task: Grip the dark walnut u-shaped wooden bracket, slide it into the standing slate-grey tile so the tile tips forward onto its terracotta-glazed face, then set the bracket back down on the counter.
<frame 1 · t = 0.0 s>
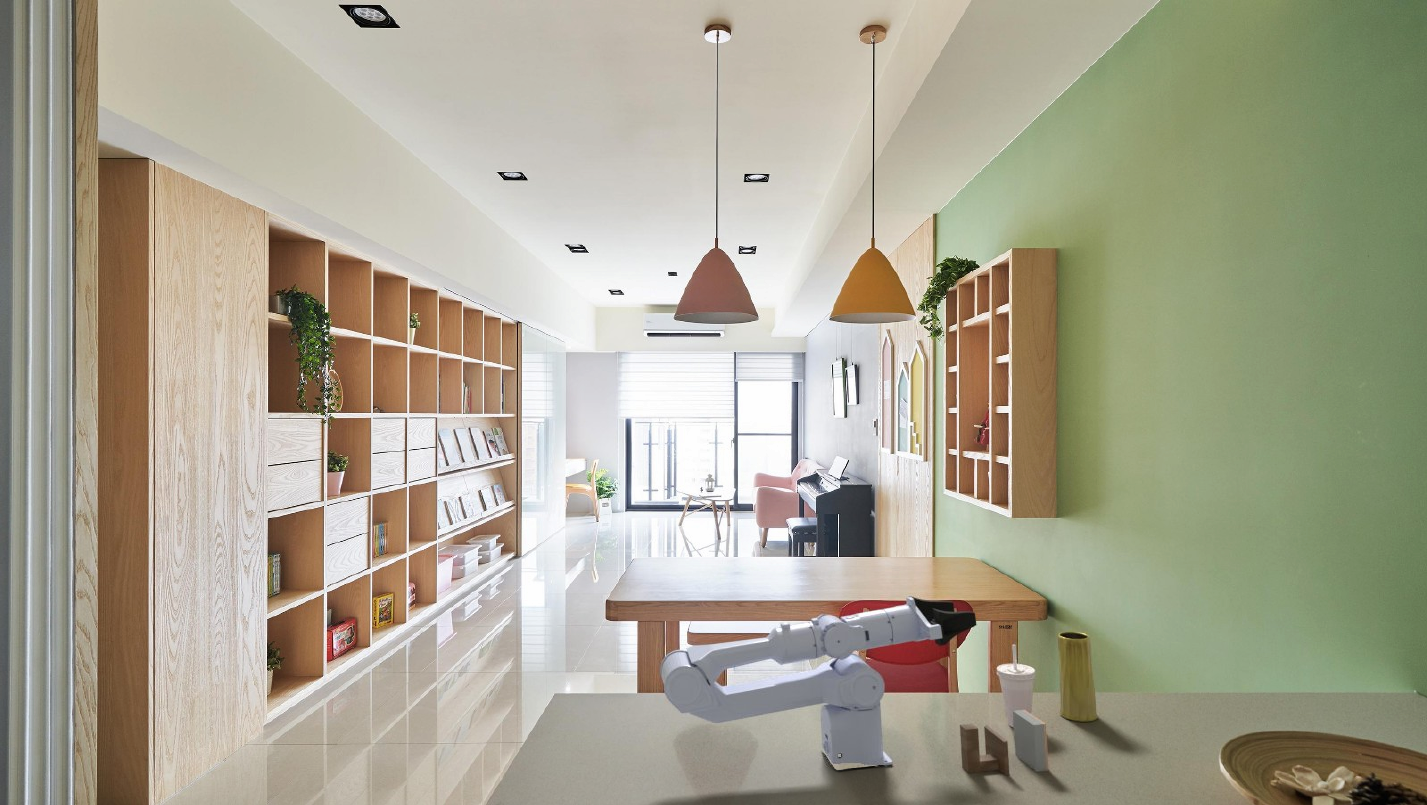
hand: (963, 613, 126), 22 cm above the table, tool horizontal, fingers open, 7 cm apart
vase: (1078, 716, 136), on the table
u-shaped wooden bracket: (971, 769, 117), on the table
smoothie: (1019, 725, 133), on the table
tile: (1031, 762, 119), on the table
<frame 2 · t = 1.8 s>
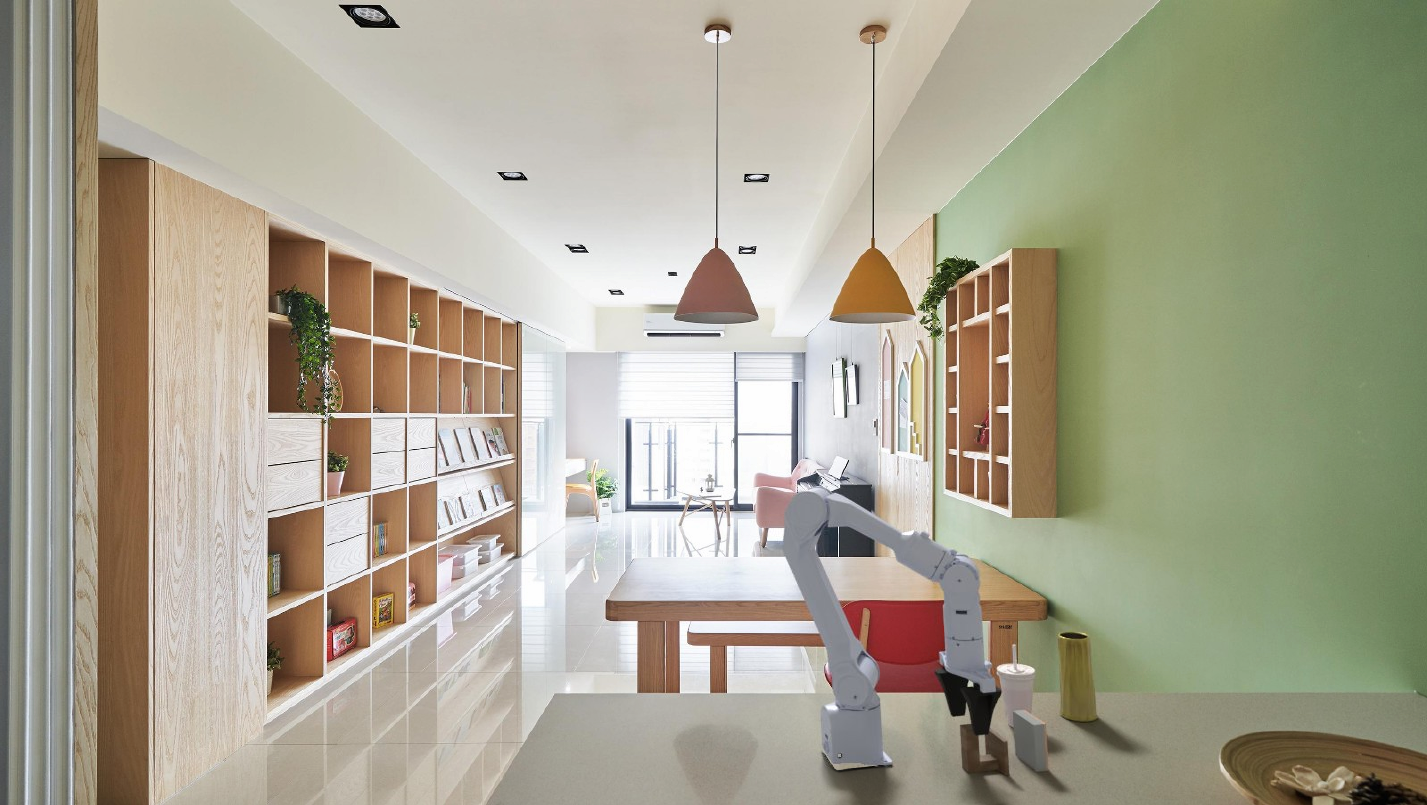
hand: (969, 724, 117), 7 cm above the table, tool pointing down, fingers open, 7 cm apart
nothing on the table moved.
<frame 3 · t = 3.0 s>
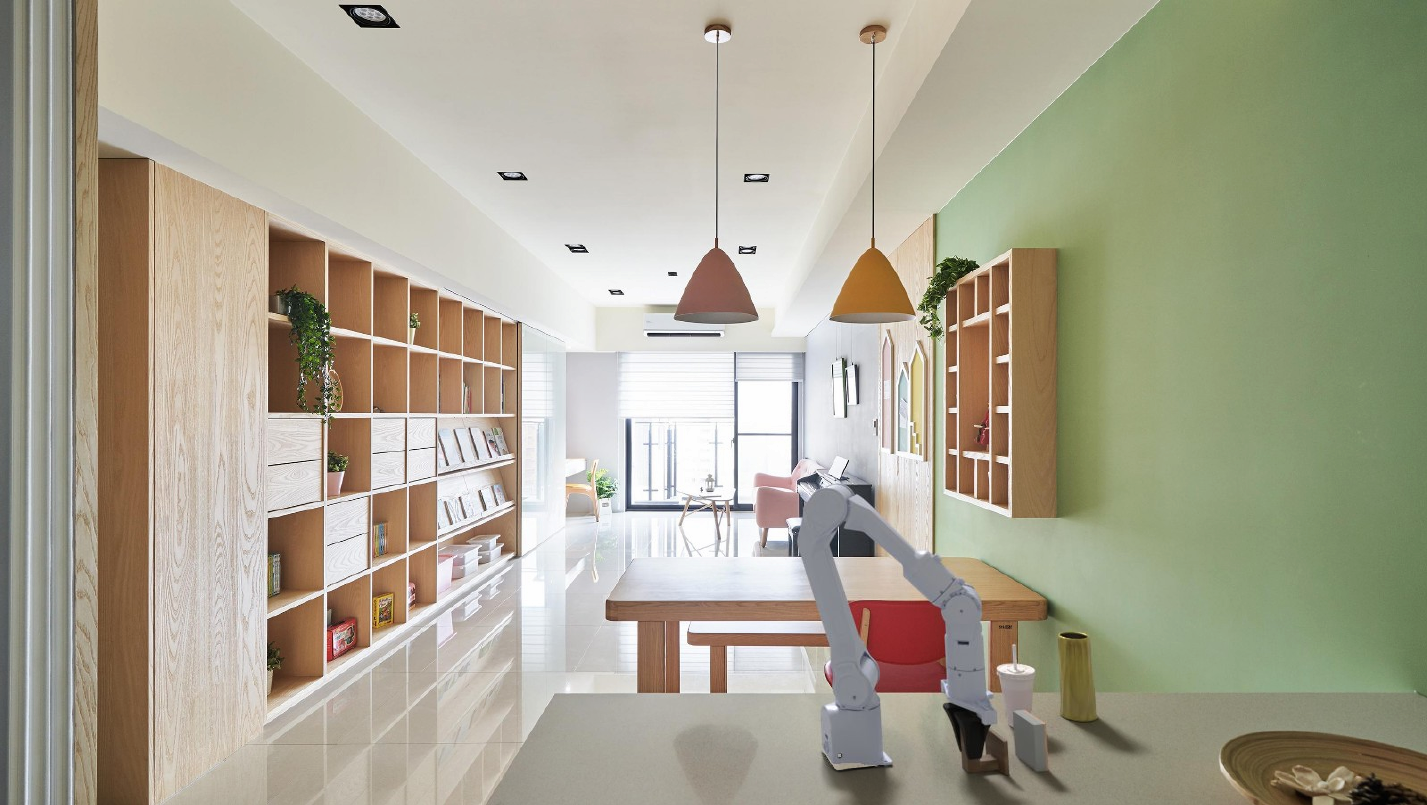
hand: (970, 754, 117), 2 cm above the table, tool pointing down, fingers closed on u-shaped wooden bracket
u-shaped wooden bracket: (971, 769, 117), on the table, touching gripper
everything else where it was.
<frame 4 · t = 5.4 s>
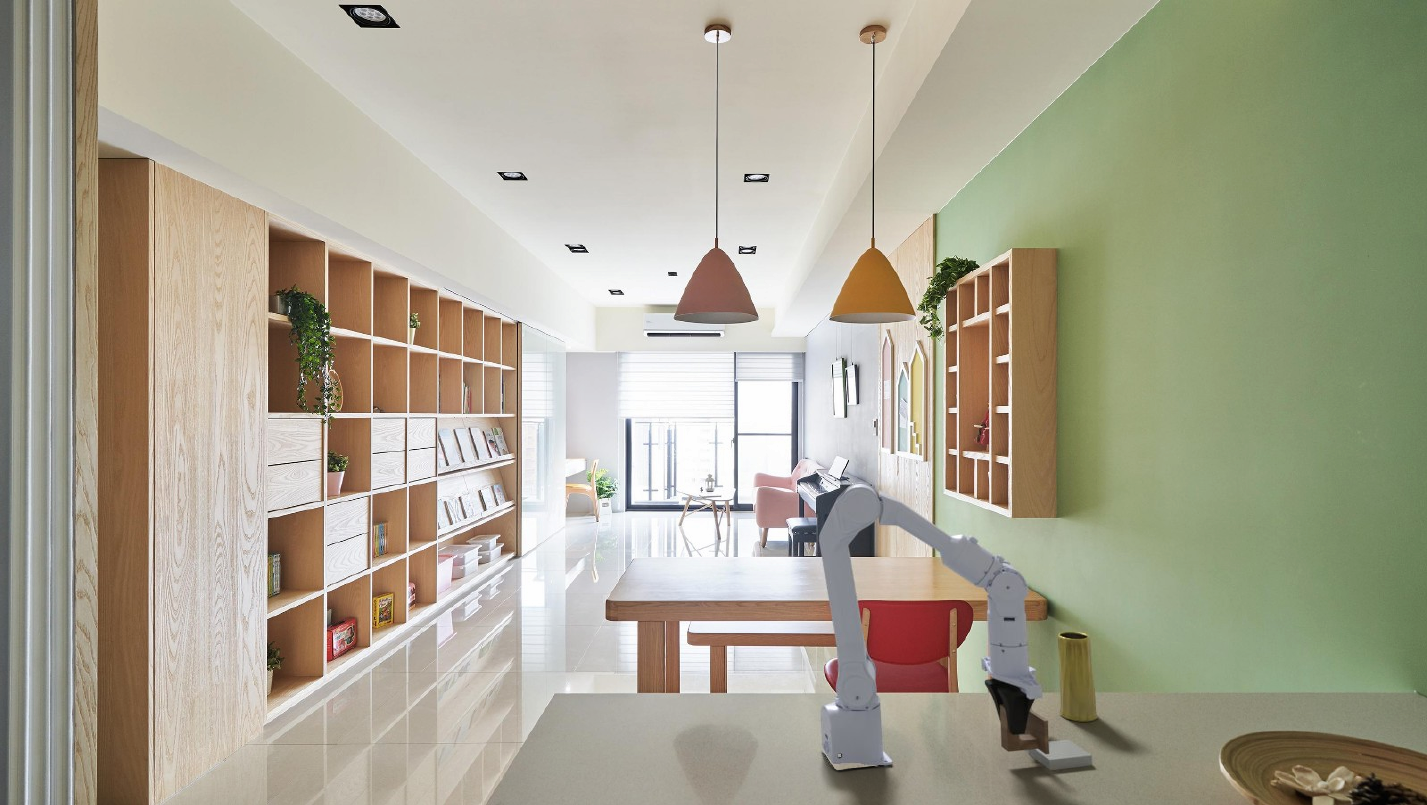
hand: (1013, 730, 118), 5 cm above the table, tool pointing down, fingers closed on u-shaped wooden bracket
u-shaped wooden bracket: (1010, 748, 118), point 2 cm above the table, touching gripper
tile: (1038, 758, 119), on the table, tilted 90°
everything else where it was.
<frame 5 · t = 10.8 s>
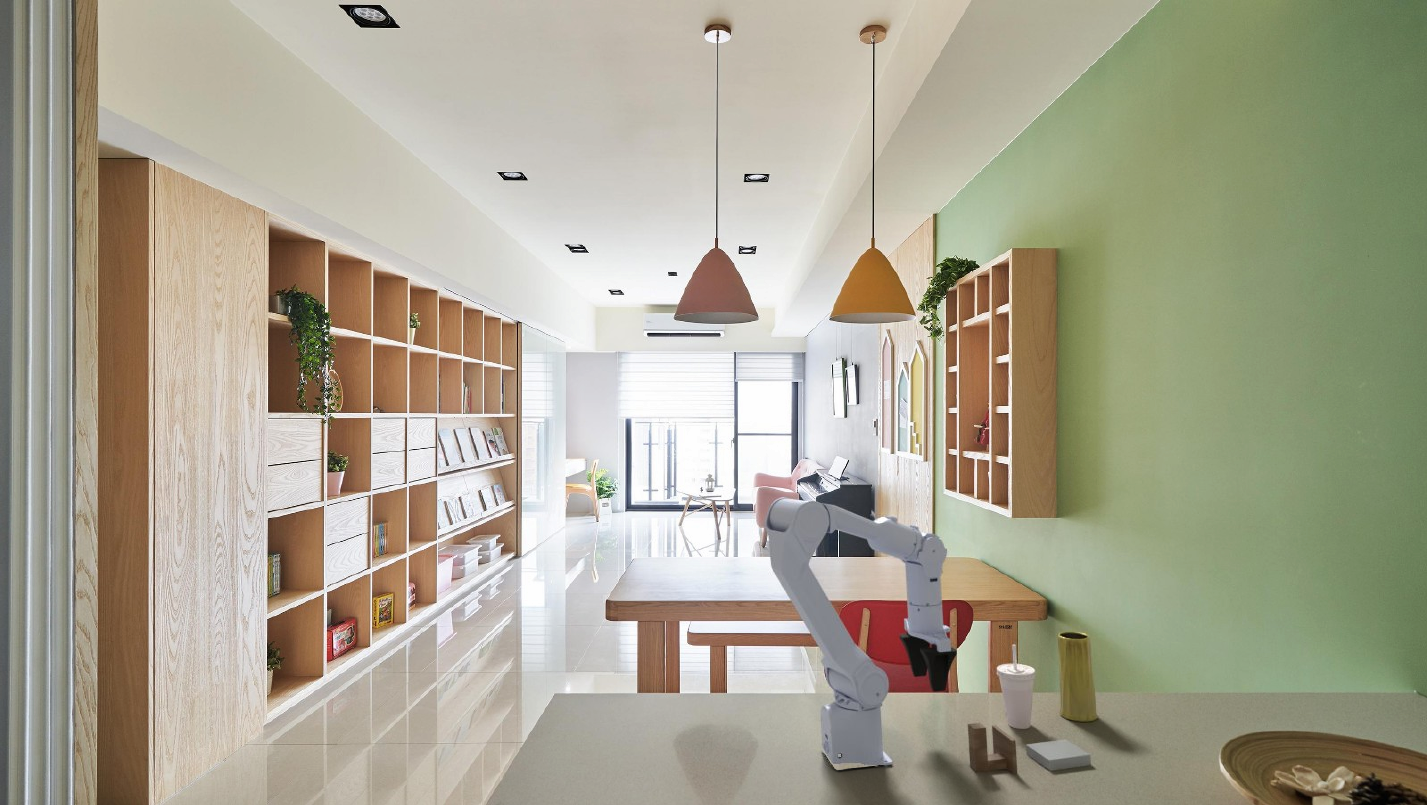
hand: (929, 682, 129), 9 cm above the table, tool pointing down, fingers open, 7 cm apart
u-shaped wooden bracket: (979, 768, 117), on the table
everything else where it was.
at the end: tile 1.2 cm from the target spot, point 0.5 cm above the table; tile tilted 90°; the gripper is holding nothing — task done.
